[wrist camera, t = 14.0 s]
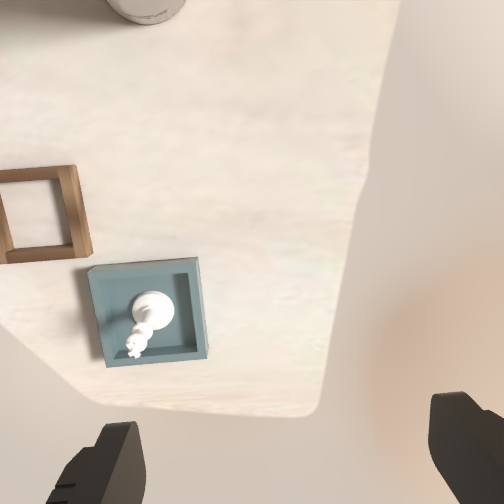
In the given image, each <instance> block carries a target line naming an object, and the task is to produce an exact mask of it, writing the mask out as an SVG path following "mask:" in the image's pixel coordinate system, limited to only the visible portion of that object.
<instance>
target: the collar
mask: <svg viewBox="0 0 504 504" xmlns="http://www.w3.org/2000/svg"><path fill="white" fill-rule="evenodd" d="M58 178H59V180H60V185H61V189H62V194H63V199H64V204H65V209H66V213H67V218H68V223H69V228H70V232H71V237H72V242H73V244H69V245H56V246H43V247H31V248H18V249H14V246H13V242H12V238H11V234H10V230H9V226H8V222H7V218H6V214H5V210H4V207H3V203H2V199H1V195H0V264H12V263H24V262H36V261H49V260H61V259H73V258H86V257H89V256H90V255H91V254H93V249H92V244H91V239H90V233H89V228H88V223H87V218H86V213H85V208H84V203H83V198H82V192H81V187H80V182H79V177H78V172H77V167H76V165H66V166H53V167H39V168H26V169H12V170H0V183H5V182H18V181H32V180H45V179H58Z"/></svg>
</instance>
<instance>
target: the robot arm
mask: <svg viewBox="0 0 504 504" xmlns="http://www.w3.org/2000/svg"><path fill="white" fill-rule="evenodd" d="M106 1H107V2H108V3H109V5H110V6H111V7H112V8H113V9H114V10H115V11H116V12H117V13H119V14H120V15H121V16H122V17H124V18H126V19H128V20H130V21H132V22H135V23H139V24H149V25H151V24H157V23H161V22H163V21H165V20H168V19H170V18H171V17H172V16H173V15H175V14H176V13H177V12H178V11H179V10H180V8H181V7H182V6H183V5H184V3H185V1H186V0H106ZM428 445H429V449H430V454H431V457H432V460H433V462H434V464H435V466H436V467H437V469H438V471H439V472H440V474H441V475H442V477H443V478H444V480H445V481H446V483H447V484H448V486H449V488H450V489H451V490H452V492H453V494H454V495H455V497H456V498H457V500H458V501H459V503H460V504H504V418H502V417H500V416H499V415H497V414H495V413H494V412H492V411H490V410H482V409H481V408H480V407H479V405H478V404H477V403H476V402H475V401H474V400H473V399H472V398H471V397H470V396H469V395H468V394H466V393H465V392H451V393H440V394H434V395H433V396H432V399H431V407H430V422H429V435H428ZM145 484H146V468H145V462H144V456H143V451H142V446H141V440H140V435H139V430H138V425H137V423H136V422H135V421H132V422H121V423H111V424H106V425H105V426H104V427H103V429H102V431H101V433H100V435H99V437H98V439H97V442H96V444H95V446H94V447H85V448H83V449H82V450H81V451H80V452H79V453H78V454H77V455H76V456H75V457H74V458H73V459H72V460H71V461H70V462H69V463H68V464H67V465H66V466H65V468H64V470H63V472H62V474H61V476H60V477H59V480H58V481H57V483H56V485H55V489H54V490H52V492H51V494H50V496H49V498H48V500H47V502H46V504H142V500H143V496H144V491H145Z"/></svg>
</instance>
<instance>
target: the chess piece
mask: <svg viewBox="0 0 504 504" xmlns="http://www.w3.org/2000/svg"><path fill="white" fill-rule="evenodd" d="M132 314H133V317H134V320H135V321H136V322H137V324H136V325H134V327H133V329H132V335H130V336H129V337H128V338H127V341H126V346H127V347H128V349H129V352H128V355H129V356H130V357H132V356H133V355H134V357H135V358H138V357H140V355H141V354H140V352H141V351H143V350H144V349H145V348H146V346H147V340H148V339H150V338H151V336H152V334H153V330H159V329H162V328H164V327H165V326H167V325H168V324H169V323H170V321H171V320H172V318H173V316H174V305H173V303H172V301H171V300H170V298H169V297H168V296H167V295H165V294H163V293H161V292H158V291H147V292H144V293H142V294H140V295H139V296H138V297H137V298H136V299H135V301H134V304H133V307H132Z"/></svg>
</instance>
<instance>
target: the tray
mask: <svg viewBox="0 0 504 504" xmlns="http://www.w3.org/2000/svg"><path fill="white" fill-rule="evenodd" d="M87 275H88V280H89V285H90V290H91V294H92V299H93V304H94V309H95V314H96V319H97V324H98V329H99V334H100V339H101V344H102V349H103V354H104V358H105V363H106V368H109V367H120V366H131V365H142V364H153V363H164V362H176V361H187V360H198V359H207V355H208V339H207V330H206V322H205V313H204V304H203V296H202V287H201V278H200V270H199V261H198V257H192V258H180V259H168V260H156V261H143V262H131V263H119V264H107V265H96V266H94V267H93V268H92V269H91V270H89V271H88V272H87ZM147 291H158V292H161V293H163V294H165V295H167V296H168V297H169V298H170V300H171V301H172V303H173V305H174V316H173V318H172V320H171V321H170V323H169V324H168V325H167V326H165V327H164V328H162V329H159V330H153V334H152V336H151V338H150V339H148V340H147V346H146V348H145V349H144V350H143V351H141V352H140V354H141V355H140V357H138V358H135V357H134V355H133V356H132V357H130V356H129V355H128V352H129V349H128V347H127V346H126V341H127V338H128V337H129V336H130V335H132V329H133V327H134V325H136V324H137V322H136V321H135V320H134V317H133V314H132V307H133V304H134V301H135V299H136V298H137V297H138V296H139V295H140V294H142V293H144V292H147Z"/></svg>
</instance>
